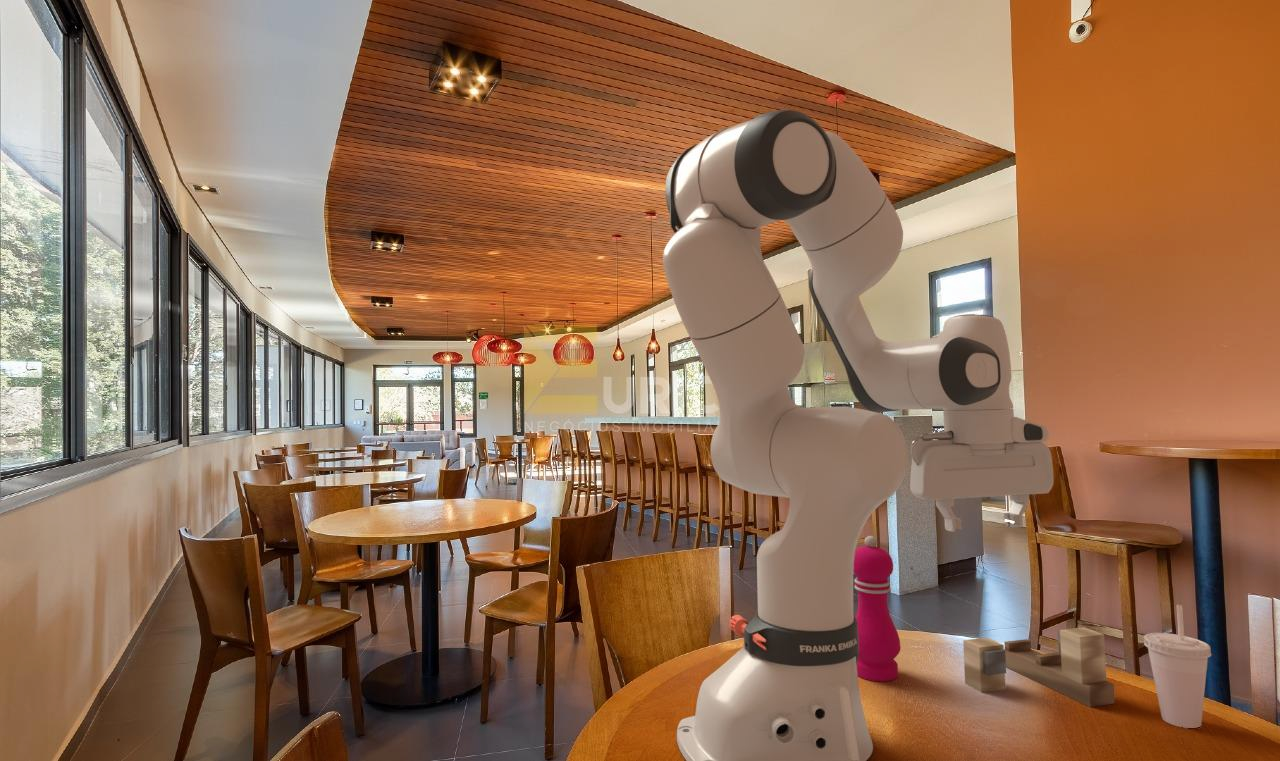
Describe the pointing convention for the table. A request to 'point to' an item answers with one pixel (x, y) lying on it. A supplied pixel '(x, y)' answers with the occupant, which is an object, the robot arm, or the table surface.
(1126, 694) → the table surface
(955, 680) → the table surface
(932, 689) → the table surface
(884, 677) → the pepper mill
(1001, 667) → the grey-banded wooden block
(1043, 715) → the table surface
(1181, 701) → the smoothie
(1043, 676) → the rail
